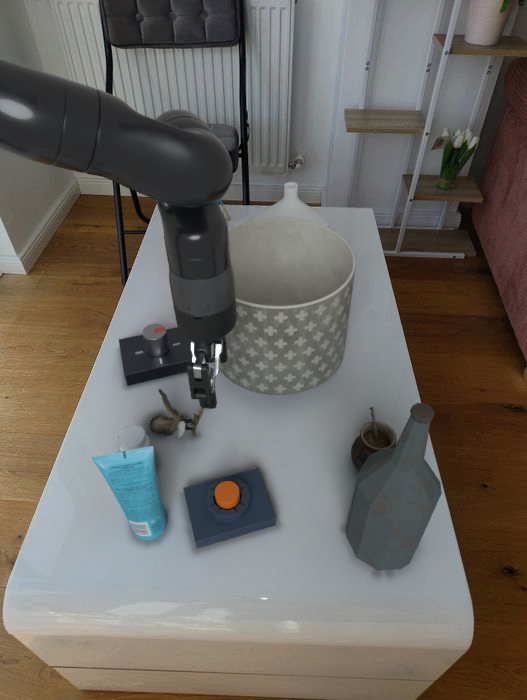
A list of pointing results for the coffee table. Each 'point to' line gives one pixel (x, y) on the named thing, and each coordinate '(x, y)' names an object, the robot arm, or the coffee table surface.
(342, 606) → the coffee table surface
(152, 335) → the program dial
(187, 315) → the robot arm
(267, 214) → the vase
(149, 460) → the tube
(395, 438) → the mate gourd
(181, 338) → the dial panel
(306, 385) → the planter
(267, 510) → the button block
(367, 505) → the bottle
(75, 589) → the coffee table surface
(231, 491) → the button
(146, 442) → the pill bottle
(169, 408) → the eagle figurine
